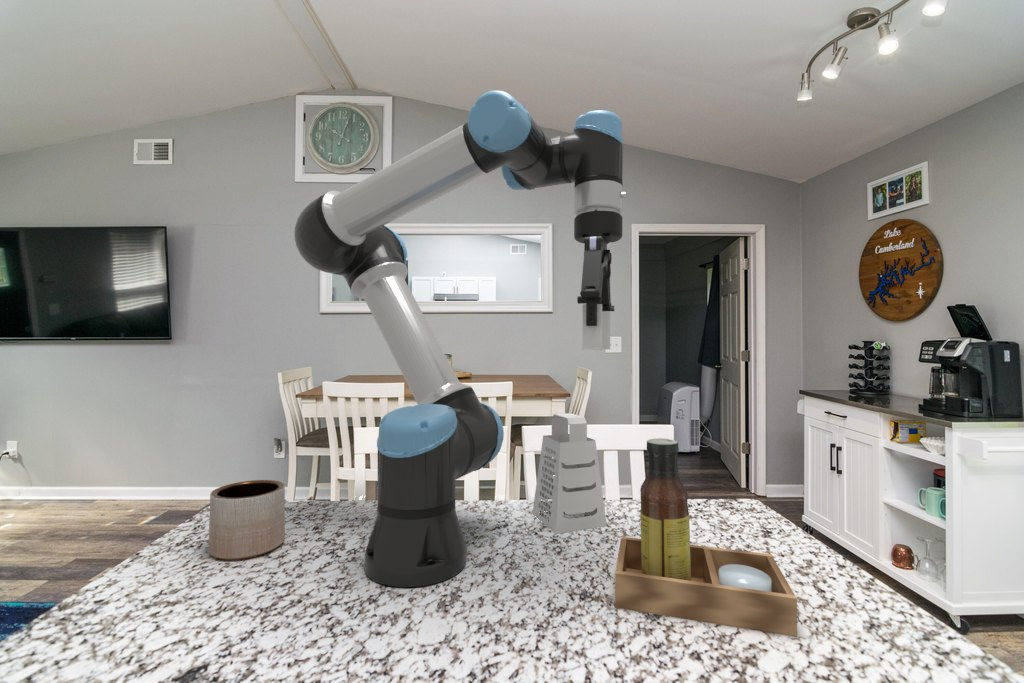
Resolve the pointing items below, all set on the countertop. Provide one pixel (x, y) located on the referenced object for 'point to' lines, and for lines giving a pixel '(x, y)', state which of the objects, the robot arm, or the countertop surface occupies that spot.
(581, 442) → the grater
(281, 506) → the planter
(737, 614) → the caddy
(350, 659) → the countertop surface
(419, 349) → the robot arm
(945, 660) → the countertop surface
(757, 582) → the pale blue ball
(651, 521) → the sauce bottle
